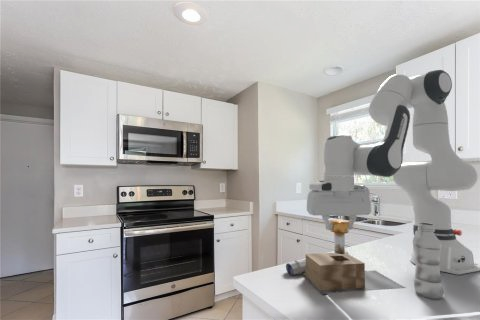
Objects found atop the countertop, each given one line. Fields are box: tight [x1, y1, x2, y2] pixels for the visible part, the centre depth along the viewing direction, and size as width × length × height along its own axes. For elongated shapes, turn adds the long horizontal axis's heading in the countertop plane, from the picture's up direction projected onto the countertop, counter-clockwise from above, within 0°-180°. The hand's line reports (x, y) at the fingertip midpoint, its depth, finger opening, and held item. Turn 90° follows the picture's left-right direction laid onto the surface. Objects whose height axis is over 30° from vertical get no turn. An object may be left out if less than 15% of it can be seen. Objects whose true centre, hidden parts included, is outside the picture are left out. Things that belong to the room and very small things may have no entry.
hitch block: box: [303, 252, 406, 296], centre depth 77 cm, size 26×13×8 cm, turn 99°
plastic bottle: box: [411, 223, 444, 301], centre depth 69 cm, size 6×7×20 cm
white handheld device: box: [285, 250, 349, 276], centre depth 87 cm, size 5×7×25 cm
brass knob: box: [329, 219, 350, 254], centre depth 77 cm, size 5×5×10 cm
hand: (339, 229), depth 77 cm, fingers closed on brass knob, 5 cm apart
